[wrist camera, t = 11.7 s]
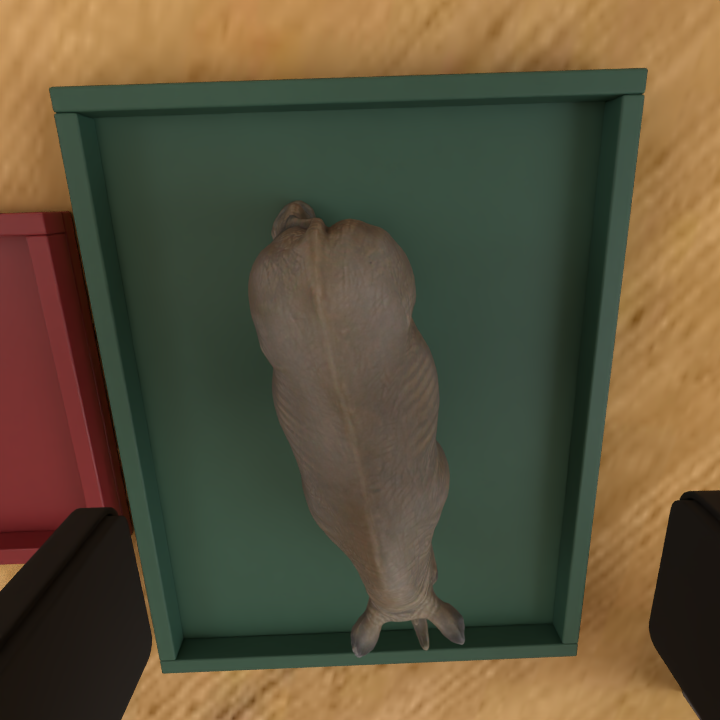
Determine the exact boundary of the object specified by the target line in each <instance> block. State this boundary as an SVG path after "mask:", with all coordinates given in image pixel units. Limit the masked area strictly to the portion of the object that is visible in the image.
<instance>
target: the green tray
mask: <svg viewBox="0 0 720 720" xmlns="http://www.w3.org/2000/svg"><path fill="white" fill-rule="evenodd" d="M647 72H648V70H647V69H646V68H628V69H596V70H565V71H534V72H502V73H471V74H440V75H408V76H377V77H346V78H314V79H283V80H252V81H220V82H189V83H158V84H127V85H95V86H64V87H51V88H49V91H50V96H51V101H52V106H53V110H54V112H56V114H55V115H54V117H55V122H56V127H57V132H58V137H59V143H60V148H61V153H62V158H63V163H64V168H65V173H66V179H67V184H68V189H69V194H70V199H71V204H72V210H73V215H74V220H75V225H76V230H77V235H78V241H79V246H80V251H81V256H82V261H83V266H84V271H85V277H86V282H87V287H88V292H89V297H90V302H91V308H92V313H93V318H94V323H95V328H96V333H97V339H98V344H99V349H100V354H101V359H102V364H103V369H104V375H105V380H106V385H107V390H108V395H109V400H110V406H111V411H112V416H113V421H114V426H115V431H116V437H117V442H118V447H119V452H120V457H121V462H122V467H123V473H124V478H125V483H126V488H127V493H128V498H129V504H130V509H131V514H132V519H133V524H134V529H135V535H136V540H137V545H138V550H139V555H140V560H141V565H142V571H143V576H144V581H145V586H146V591H147V596H148V602H149V607H150V612H151V617H152V622H153V627H154V633H155V638H156V643H157V648H158V653H159V658H160V660H161V661H160V663H161V669H162V673H186V672H210V671H233V670H257V669H280V668H304V667H327V666H351V665H375V664H398V663H422V662H445V661H469V660H492V659H516V658H540V657H563V656H576V655H577V646H578V644H577V643H578V638H579V630H580V622H581V614H582V605H583V597H584V589H585V581H586V573H587V564H588V556H589V548H590V540H591V531H592V523H593V515H594V507H595V499H596V490H597V482H598V474H599V466H600V458H601V449H602V441H603V433H604V425H605V417H606V408H607V400H608V392H609V384H610V375H611V367H612V359H613V351H614V343H615V334H616V326H617V318H618V310H619V302H620V293H621V285H622V277H623V269H624V261H625V252H626V244H627V236H628V228H629V220H630V211H631V203H632V195H633V187H634V178H635V170H636V162H637V154H638V146H639V137H640V129H641V121H642V113H643V105H644V95H643V93H644V92H645V88H646V80H647ZM296 200H301V201H303V202H305V203H307V204H308V205H310V207H311V208H312V209H313V210H314V213H315V216H316V218H320V219H322V220H323V222H324V224H325V225H326V226H327V227H331V226H332V225H333V224H335V223H337V222H339V221H341V220H344V219H355V220H360V221H363V222H365V223H368V224H370V225H374V226H377V227H380V228H382V229H384V230H385V231H387V232H388V233H389V234H390V236H391V237H392V238H393V239H394V240H395V241H396V243H397V244H398V245H399V246H400V247H401V248H402V249H403V251H404V252H405V254H406V256H407V258H408V260H409V262H410V265H411V267H412V270H413V274H414V278H415V287H416V302H415V305H414V307H413V312H412V319H413V321H414V323H415V325H416V327H417V329H418V330H419V332H420V333H421V335H422V337H423V339H424V340H425V342H426V344H427V345H428V347H429V349H430V351H431V354H432V357H433V360H434V363H435V366H436V370H437V375H438V385H439V399H440V400H439V410H438V422H437V433H436V440H437V442H438V443H439V444H440V445H441V447H442V449H443V451H444V453H445V456H446V459H447V461H448V465H449V472H450V482H449V491H448V496H447V499H446V502H445V504H444V506H443V509H442V512H441V516H440V519H439V521H438V523H437V525H436V527H435V529H434V533H433V537H432V541H431V543H432V547H433V551H434V557H435V560H436V564H437V570H438V579H437V581H436V582H435V583H434V585H433V590H434V592H435V594H436V596H437V597H438V598H439V599H441V600H442V601H443V602H446V603H449V604H450V605H452V606H453V607H454V608H455V609H456V610H457V611H458V612H459V613H460V614H461V615H462V616H463V619H464V625H465V629H464V636H465V642H464V644H462V645H460V644H457V643H454V642H452V641H450V640H449V639H448V638H446V637H445V636H444V635H443V634H442V633H441V632H440V630H439V629H438V628H437V627H436V626H435V625H434V624H433V623H432V622H431V621H430V620H428V619H427V624H428V634H429V648H428V650H424V649H423V648H422V647H421V645H420V642H419V639H418V637H417V634H416V632H415V629H414V626H413V624H412V622H411V620H409V621H402V622H394V621H390V622H386V623H384V624H383V625H382V627H381V631H380V634H379V638H378V641H377V643H376V645H375V647H374V649H373V650H371V651H370V652H369V653H368V654H366V655H365V656H362V657H360V658H359V657H357V656H356V655H355V654H354V652H353V651H352V645H351V636H350V635H351V630H352V627H353V625H354V624H355V623H356V621H357V620H358V618H359V617H360V616H361V615H362V614H363V613H364V611H365V610H366V607H367V604H368V600H369V595H368V594H367V591H366V588H365V585H364V583H363V582H362V580H361V577H360V575H359V573H358V571H357V569H356V568H355V566H354V565H353V563H352V561H351V560H350V559H349V558H348V556H347V555H346V554H345V553H344V552H343V551H342V550H341V549H340V548H339V547H338V546H337V545H336V544H335V543H334V542H333V541H332V540H331V539H330V538H329V537H328V536H327V535H326V534H325V532H324V531H323V530H322V529H321V528H320V527H319V526H318V524H317V523H316V521H315V520H314V518H313V516H312V514H311V512H310V510H309V507H308V504H307V502H306V499H305V495H304V491H303V487H302V480H301V473H300V470H299V467H298V464H297V461H296V459H295V456H294V454H293V451H292V449H291V446H290V444H289V442H288V440H287V438H286V436H285V434H284V431H283V429H282V427H281V425H280V423H279V420H278V417H277V413H276V410H275V406H274V401H273V395H272V377H273V367H272V365H271V364H270V362H269V361H268V360H267V358H266V356H265V355H264V353H263V352H262V350H261V347H260V343H259V340H258V336H257V332H256V328H255V325H254V322H253V319H252V316H251V311H250V305H249V297H248V282H249V275H250V272H251V269H252V266H253V263H254V262H255V260H256V258H257V256H258V255H259V253H260V252H261V251H262V250H263V249H264V248H265V247H266V246H268V245H269V244H270V243H271V242H272V241H273V238H272V235H271V231H272V227H273V223H274V221H275V219H276V217H277V216H278V214H279V213H280V211H281V210H282V209H283V207H284V206H286V205H287V204H289V203H291V202H293V201H296Z"/></svg>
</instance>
